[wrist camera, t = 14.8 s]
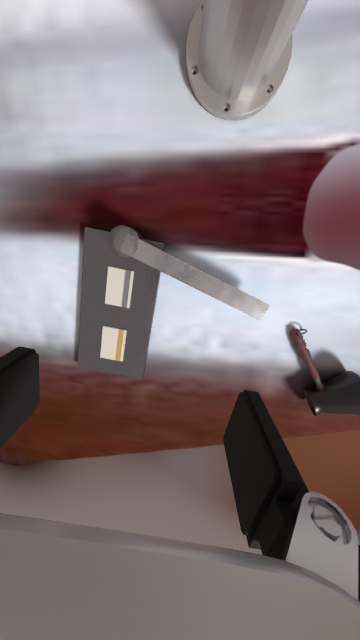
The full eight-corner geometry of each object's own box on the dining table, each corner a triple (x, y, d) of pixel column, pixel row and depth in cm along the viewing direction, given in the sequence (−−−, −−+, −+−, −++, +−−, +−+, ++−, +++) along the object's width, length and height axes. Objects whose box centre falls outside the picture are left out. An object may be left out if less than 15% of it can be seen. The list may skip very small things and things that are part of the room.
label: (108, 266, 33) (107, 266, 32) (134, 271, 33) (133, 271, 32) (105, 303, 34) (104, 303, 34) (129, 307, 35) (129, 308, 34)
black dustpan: (354, 397, 40) (307, 406, 43) (331, 311, 38) (281, 325, 40) (382, 425, 33) (324, 434, 35) (356, 321, 30) (294, 338, 33)
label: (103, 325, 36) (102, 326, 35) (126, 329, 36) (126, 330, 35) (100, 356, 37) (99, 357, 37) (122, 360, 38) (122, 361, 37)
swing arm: (113, 249, 32) (103, 249, 28) (122, 223, 30) (114, 219, 27) (249, 317, 34) (257, 325, 31) (262, 295, 33) (272, 301, 30)
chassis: (88, 227, 32) (84, 226, 31) (165, 243, 33) (164, 243, 31) (80, 363, 39) (77, 367, 38) (143, 375, 40) (142, 378, 39)
